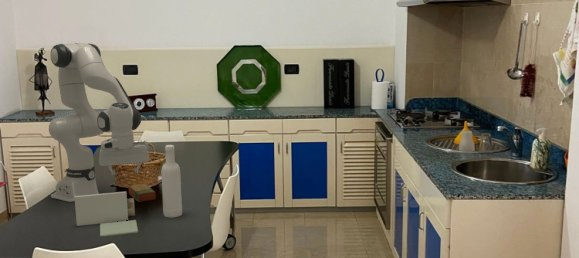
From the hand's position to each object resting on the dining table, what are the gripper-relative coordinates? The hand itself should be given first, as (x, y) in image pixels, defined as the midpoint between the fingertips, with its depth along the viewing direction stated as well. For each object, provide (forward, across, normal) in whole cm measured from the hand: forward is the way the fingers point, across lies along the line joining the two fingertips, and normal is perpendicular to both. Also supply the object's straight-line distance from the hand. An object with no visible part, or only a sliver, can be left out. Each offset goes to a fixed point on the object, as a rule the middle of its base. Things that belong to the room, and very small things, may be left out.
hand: (125, 174), depth 246 cm
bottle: (+18, -18, +7) cm, 27 cm away
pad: (+18, +4, +18) cm, 25 cm away
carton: (+18, -8, -25) cm, 32 cm away
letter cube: (+18, 0, 0) cm, 18 cm away
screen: (+18, +10, +8) cm, 22 cm away
